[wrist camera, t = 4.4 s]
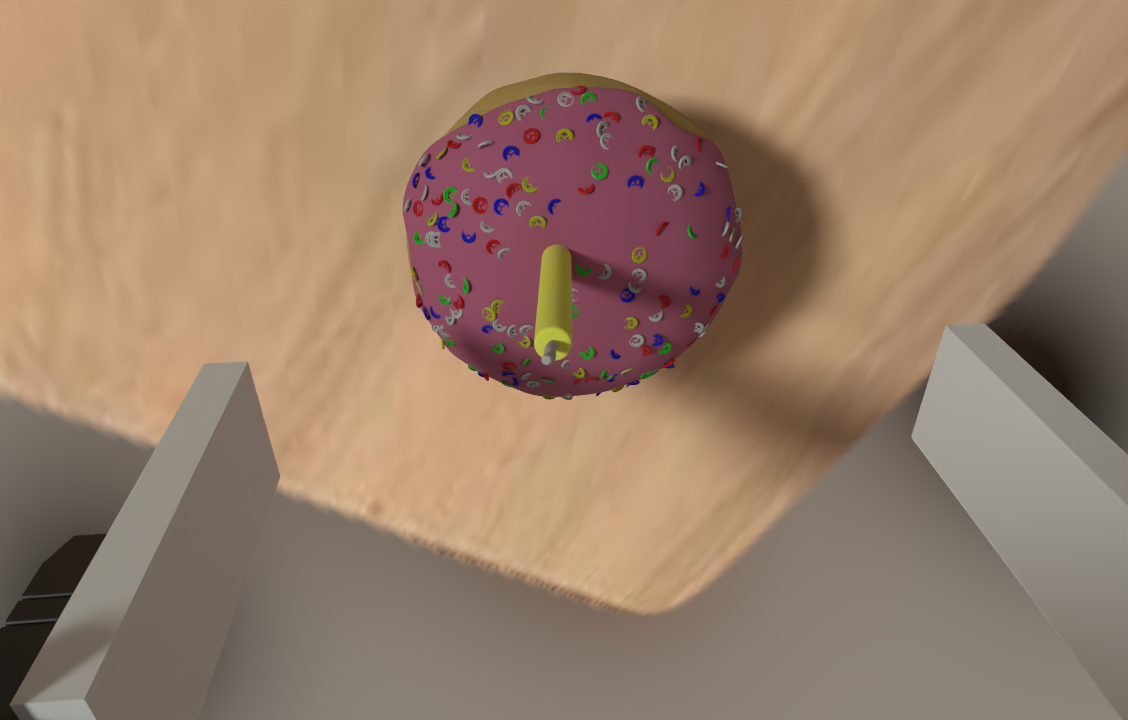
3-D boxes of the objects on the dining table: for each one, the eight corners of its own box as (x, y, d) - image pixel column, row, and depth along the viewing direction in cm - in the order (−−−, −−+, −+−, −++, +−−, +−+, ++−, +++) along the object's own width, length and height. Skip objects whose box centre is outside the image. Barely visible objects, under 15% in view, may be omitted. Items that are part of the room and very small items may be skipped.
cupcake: (355, 158, 22) (247, 413, 12) (595, -36, 20) (709, 78, 10) (533, 351, 26) (563, 656, 16) (747, 209, 24) (934, 464, 14)
